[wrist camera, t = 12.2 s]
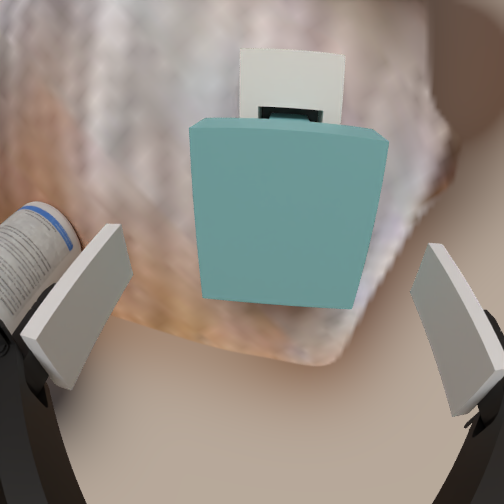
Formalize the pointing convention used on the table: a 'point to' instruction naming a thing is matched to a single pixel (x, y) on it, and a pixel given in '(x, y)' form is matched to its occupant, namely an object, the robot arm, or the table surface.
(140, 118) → the table surface
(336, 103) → the rail
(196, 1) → the table surface
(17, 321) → the supplement tub
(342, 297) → the teal block with tab
